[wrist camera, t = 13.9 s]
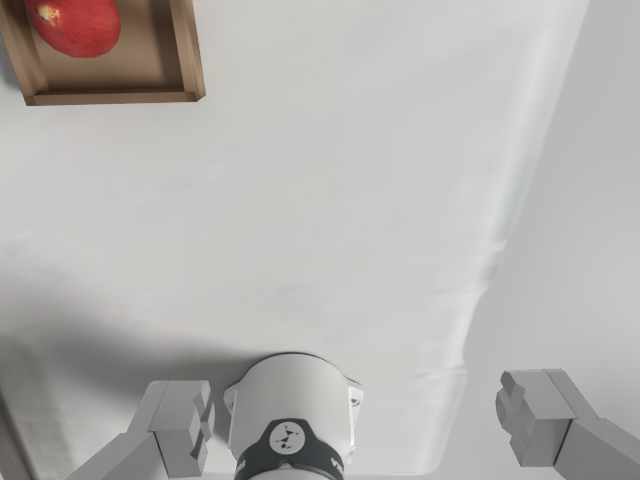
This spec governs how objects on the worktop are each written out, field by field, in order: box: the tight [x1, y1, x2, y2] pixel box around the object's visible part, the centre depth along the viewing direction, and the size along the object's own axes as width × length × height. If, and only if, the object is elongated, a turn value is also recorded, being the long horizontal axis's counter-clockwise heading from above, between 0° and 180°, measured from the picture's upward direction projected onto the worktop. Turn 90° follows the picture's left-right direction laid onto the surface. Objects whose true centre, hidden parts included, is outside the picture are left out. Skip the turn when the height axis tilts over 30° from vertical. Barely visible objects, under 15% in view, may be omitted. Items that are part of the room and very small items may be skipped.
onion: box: [25, 0, 121, 58], centre depth 29 cm, size 6×6×8 cm
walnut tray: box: [0, 0, 206, 106], centre depth 32 cm, size 13×14×4 cm
